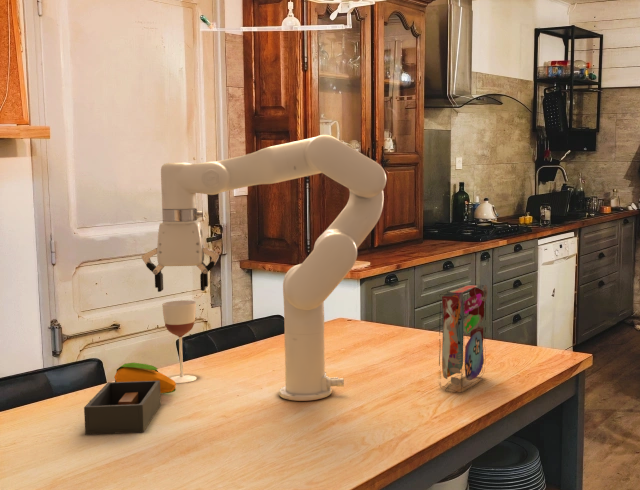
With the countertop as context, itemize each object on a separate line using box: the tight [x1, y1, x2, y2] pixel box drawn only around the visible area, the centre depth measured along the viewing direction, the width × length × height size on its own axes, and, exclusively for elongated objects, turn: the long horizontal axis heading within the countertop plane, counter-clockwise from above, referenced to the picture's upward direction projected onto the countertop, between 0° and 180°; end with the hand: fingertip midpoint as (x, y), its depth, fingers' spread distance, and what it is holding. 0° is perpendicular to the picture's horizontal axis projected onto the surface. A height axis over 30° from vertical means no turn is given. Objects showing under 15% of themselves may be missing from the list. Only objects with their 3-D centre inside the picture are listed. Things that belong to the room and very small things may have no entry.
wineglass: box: [162, 299, 198, 384], centre depth 201 cm, size 8×9×20 cm
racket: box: [118, 392, 139, 405], centre depth 169 cm, size 8×15×3 cm, turn 7°
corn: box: [114, 362, 177, 395], centre depth 188 cm, size 7×8×20 cm
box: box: [438, 284, 489, 394], centre depth 198 cm, size 25×6×24 cm, turn 153°
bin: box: [83, 381, 162, 436], centre depth 169 cm, size 12×19×6 cm, turn 7°
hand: (181, 290), depth 180 cm, fingers open, 9 cm apart
